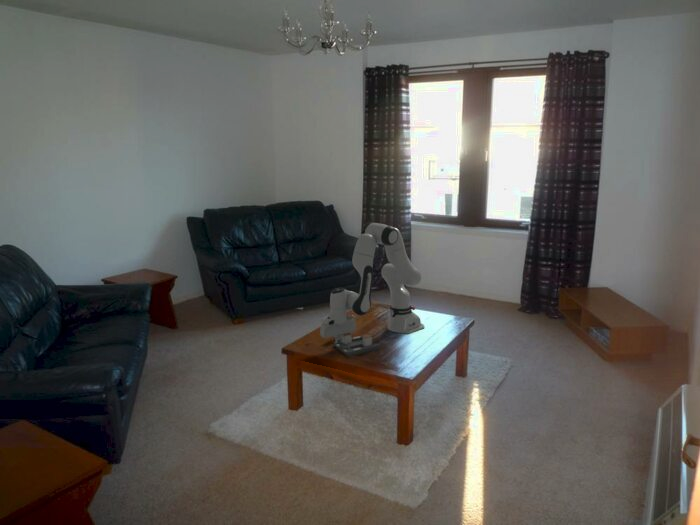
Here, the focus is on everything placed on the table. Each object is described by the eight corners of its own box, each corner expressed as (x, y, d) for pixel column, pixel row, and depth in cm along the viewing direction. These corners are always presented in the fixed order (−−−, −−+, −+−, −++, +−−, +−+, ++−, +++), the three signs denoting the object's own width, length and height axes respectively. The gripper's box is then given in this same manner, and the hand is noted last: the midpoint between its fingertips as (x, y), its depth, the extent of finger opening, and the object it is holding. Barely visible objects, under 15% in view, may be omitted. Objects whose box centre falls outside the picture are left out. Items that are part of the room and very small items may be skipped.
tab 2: (368, 343, 280) (368, 334, 279) (371, 345, 278) (372, 336, 276) (362, 345, 278) (362, 335, 277) (365, 347, 276) (365, 337, 274)
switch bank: (365, 339, 291) (365, 334, 291) (380, 349, 278) (380, 344, 277) (333, 346, 282) (333, 341, 281) (348, 356, 268) (348, 351, 268)
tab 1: (348, 341, 283) (348, 332, 282) (351, 343, 281) (351, 334, 279) (342, 343, 281) (342, 333, 280) (345, 345, 279) (345, 335, 277)
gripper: (352, 313, 282) (352, 336, 286) (318, 319, 272) (319, 343, 276) (358, 316, 277) (358, 340, 280) (324, 323, 267) (324, 348, 270)
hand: (338, 342), depth 278 cm, fingers closed
